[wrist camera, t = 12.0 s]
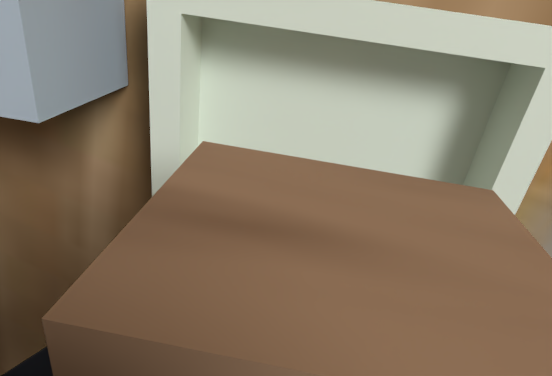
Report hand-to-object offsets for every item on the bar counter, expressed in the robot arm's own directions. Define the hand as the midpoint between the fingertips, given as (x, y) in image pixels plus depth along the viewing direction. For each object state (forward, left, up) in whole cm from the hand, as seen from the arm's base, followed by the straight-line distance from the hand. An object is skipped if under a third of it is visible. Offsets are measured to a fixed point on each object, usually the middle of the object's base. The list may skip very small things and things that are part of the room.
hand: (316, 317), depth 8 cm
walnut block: (0, 0, -1) cm, 1 cm away
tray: (0, 0, -8) cm, 8 cm away
